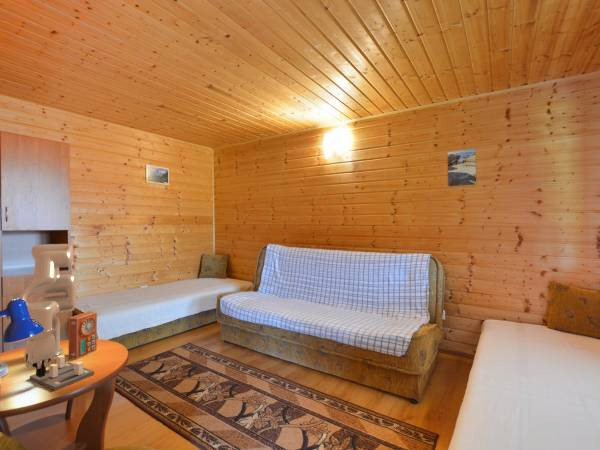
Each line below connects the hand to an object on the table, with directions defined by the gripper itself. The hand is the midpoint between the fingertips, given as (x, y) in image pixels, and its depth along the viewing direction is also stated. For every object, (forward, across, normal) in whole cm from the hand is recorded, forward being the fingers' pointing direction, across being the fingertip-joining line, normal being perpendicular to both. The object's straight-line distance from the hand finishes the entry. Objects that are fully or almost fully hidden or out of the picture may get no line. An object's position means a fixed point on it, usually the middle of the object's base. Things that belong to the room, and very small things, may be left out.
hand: (40, 376), depth 136 cm
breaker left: (+2, -11, -8) cm, 14 cm away
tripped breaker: (+2, -5, 0) cm, 5 cm away
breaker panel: (+4, -8, 0) cm, 9 cm away
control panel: (+4, -27, -18) cm, 33 cm away
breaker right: (+2, -11, +7) cm, 14 cm away
